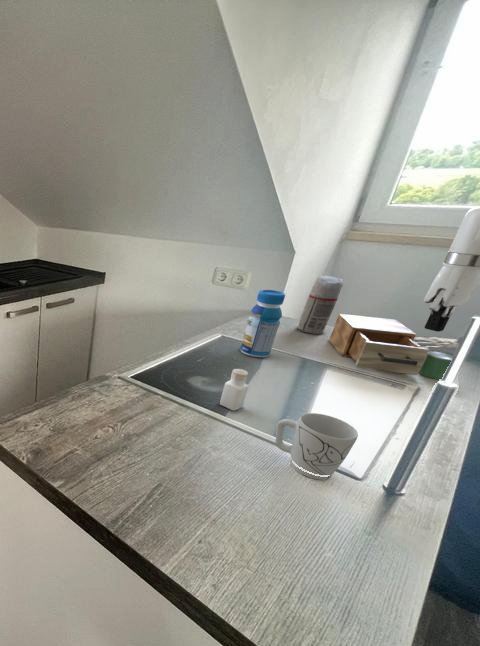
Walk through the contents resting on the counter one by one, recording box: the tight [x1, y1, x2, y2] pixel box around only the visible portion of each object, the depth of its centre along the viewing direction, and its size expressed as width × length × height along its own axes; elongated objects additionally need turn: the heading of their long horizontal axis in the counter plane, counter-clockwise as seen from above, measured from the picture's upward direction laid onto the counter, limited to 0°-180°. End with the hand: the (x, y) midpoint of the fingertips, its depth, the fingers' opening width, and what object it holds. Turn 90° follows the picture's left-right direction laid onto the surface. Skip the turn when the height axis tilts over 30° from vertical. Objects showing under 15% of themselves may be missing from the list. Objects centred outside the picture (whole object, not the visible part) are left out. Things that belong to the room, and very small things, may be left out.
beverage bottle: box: [240, 289, 286, 358], centre depth 120 cm, size 8×8×20 cm
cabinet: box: [329, 313, 417, 358], centre depth 123 cm, size 15×15×10 cm
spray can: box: [296, 274, 344, 335], centre depth 139 cm, size 8×8×20 cm
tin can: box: [418, 351, 454, 380], centre depth 109 cm, size 6×6×6 cm
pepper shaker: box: [219, 368, 249, 411], centre depth 93 cm, size 4×4×10 cm
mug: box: [274, 412, 359, 481], centre depth 73 cm, size 11×8×10 cm
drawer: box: [347, 330, 430, 376], centre depth 112 cm, size 18×13×8 cm
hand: (433, 329), depth 104 cm, fingers closed
